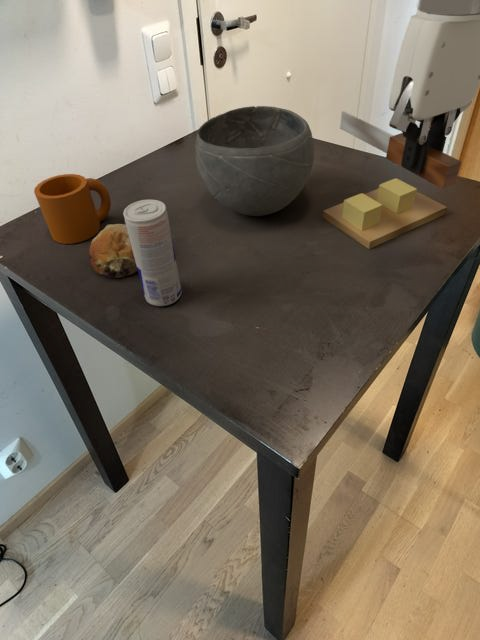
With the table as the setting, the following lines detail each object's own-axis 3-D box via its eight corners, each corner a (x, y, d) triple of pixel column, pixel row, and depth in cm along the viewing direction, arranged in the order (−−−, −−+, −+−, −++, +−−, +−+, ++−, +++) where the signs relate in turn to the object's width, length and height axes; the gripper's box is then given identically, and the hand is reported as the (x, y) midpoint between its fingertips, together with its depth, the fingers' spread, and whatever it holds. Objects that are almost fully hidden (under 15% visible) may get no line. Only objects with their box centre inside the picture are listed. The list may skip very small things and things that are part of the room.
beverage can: (189, 291, 71) (174, 204, 61) (166, 313, 68) (146, 224, 57) (161, 280, 73) (142, 194, 63) (137, 300, 70) (113, 213, 60)
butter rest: (392, 195, 85) (395, 177, 83) (413, 206, 82) (417, 188, 80) (376, 202, 84) (379, 184, 81) (396, 214, 81) (400, 195, 78)
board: (395, 188, 90) (396, 181, 89) (445, 214, 82) (447, 207, 81) (322, 217, 84) (322, 210, 83) (368, 249, 76) (370, 241, 75)
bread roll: (162, 273, 80) (165, 227, 77) (125, 286, 71) (127, 234, 69) (115, 261, 84) (117, 216, 81) (74, 271, 75) (75, 222, 72)
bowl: (278, 169, 98) (278, 94, 88) (334, 215, 84) (342, 132, 74) (185, 195, 92) (174, 118, 82) (229, 248, 78) (222, 164, 68)
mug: (122, 231, 84) (110, 186, 78) (55, 249, 81) (36, 203, 75) (111, 209, 90) (99, 165, 84) (49, 225, 87) (31, 180, 81)
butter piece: (359, 210, 82) (362, 192, 80) (379, 223, 79) (382, 204, 77) (341, 218, 81) (343, 199, 78) (361, 230, 78) (364, 212, 75)
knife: (454, 184, 58) (462, 161, 56) (442, 189, 57) (449, 166, 55) (346, 127, 71) (348, 107, 69) (334, 130, 70) (336, 110, 68)
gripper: (480, -18, 53) (441, 141, 66) (372, 4, 47) (352, 173, 60) (541, -10, 48) (486, 160, 61) (428, 15, 43) (394, 196, 55)
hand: (419, 165), depth 60 cm, fingers closed on knife, 2 cm apart
